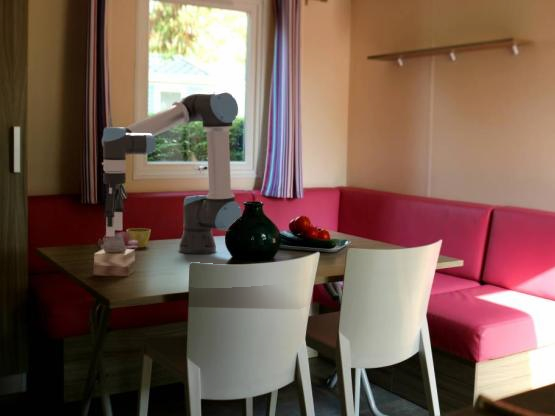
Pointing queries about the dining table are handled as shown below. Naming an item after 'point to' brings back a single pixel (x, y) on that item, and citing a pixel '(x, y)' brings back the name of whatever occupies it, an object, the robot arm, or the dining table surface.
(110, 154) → the robot arm
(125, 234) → the flower
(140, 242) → the flower pot
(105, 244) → the stone
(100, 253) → the tower top
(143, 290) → the dining table surface
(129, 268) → the tower base
